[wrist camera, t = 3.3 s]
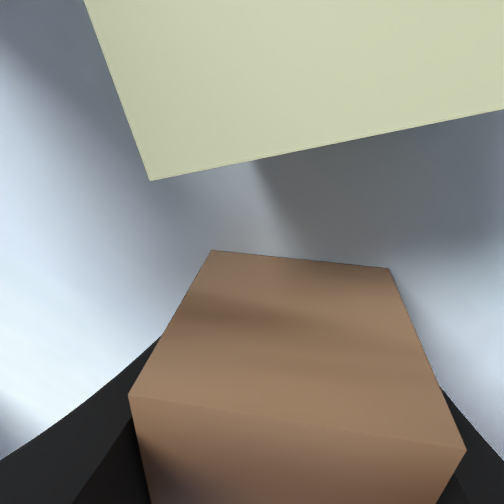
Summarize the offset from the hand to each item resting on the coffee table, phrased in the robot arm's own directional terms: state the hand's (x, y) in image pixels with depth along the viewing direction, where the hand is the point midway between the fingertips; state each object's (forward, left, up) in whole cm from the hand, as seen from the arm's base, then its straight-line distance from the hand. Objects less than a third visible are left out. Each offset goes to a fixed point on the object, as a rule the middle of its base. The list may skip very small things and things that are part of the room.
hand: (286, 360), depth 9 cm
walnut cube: (0, 0, -1) cm, 1 cm away
